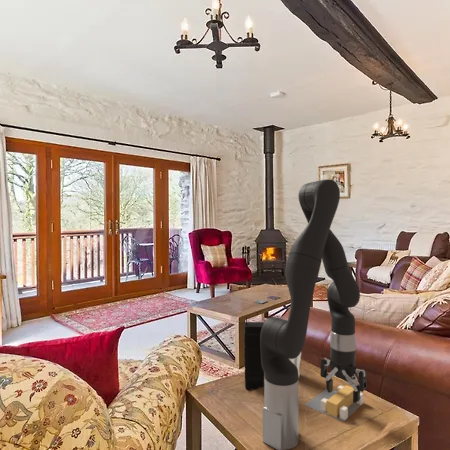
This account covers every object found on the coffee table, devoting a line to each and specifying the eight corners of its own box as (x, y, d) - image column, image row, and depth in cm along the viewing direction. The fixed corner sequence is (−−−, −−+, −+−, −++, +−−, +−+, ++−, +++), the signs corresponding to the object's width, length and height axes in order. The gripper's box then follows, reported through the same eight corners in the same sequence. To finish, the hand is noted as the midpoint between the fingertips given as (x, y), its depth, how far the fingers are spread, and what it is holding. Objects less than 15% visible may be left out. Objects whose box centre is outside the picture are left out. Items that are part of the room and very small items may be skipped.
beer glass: (294, 371, 136) (294, 333, 136) (305, 379, 130) (305, 339, 129) (279, 375, 134) (278, 336, 133) (289, 383, 127) (289, 342, 127)
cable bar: (336, 417, 104) (336, 404, 104) (326, 413, 107) (326, 400, 106) (355, 400, 114) (355, 388, 113) (346, 396, 116) (346, 385, 116)
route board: (343, 425, 102) (343, 412, 102) (304, 408, 111) (304, 395, 111) (364, 404, 113) (364, 392, 113) (327, 390, 122) (327, 379, 122)
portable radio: (266, 381, 129) (266, 314, 128) (267, 390, 123) (266, 319, 122) (245, 380, 129) (244, 314, 128) (244, 389, 124) (244, 319, 122)
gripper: (316, 343, 112) (316, 392, 112) (360, 355, 102) (359, 410, 102) (328, 337, 117) (327, 384, 118) (370, 348, 107) (370, 400, 108)
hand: (342, 396), depth 110 cm, fingers open, 8 cm apart
